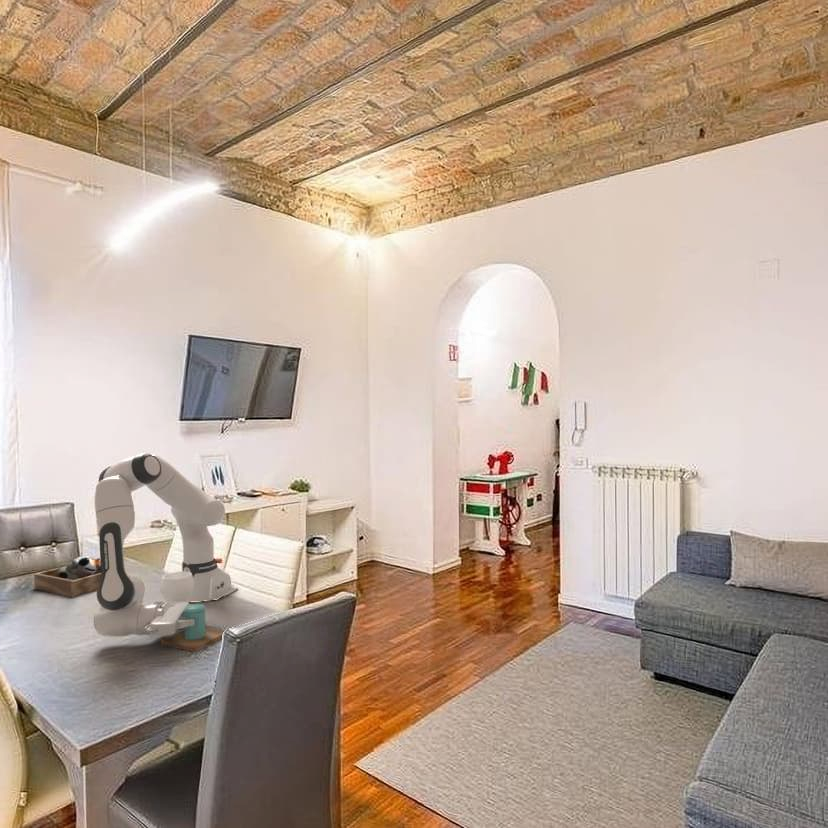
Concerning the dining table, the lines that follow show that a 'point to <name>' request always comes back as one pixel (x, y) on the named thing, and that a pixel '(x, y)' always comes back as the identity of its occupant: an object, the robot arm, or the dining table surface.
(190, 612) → the teal octagonal jar
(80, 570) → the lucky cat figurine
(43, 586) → the tray
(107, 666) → the dining table surface
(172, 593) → the cup
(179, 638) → the square wooden board
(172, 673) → the dining table surface
